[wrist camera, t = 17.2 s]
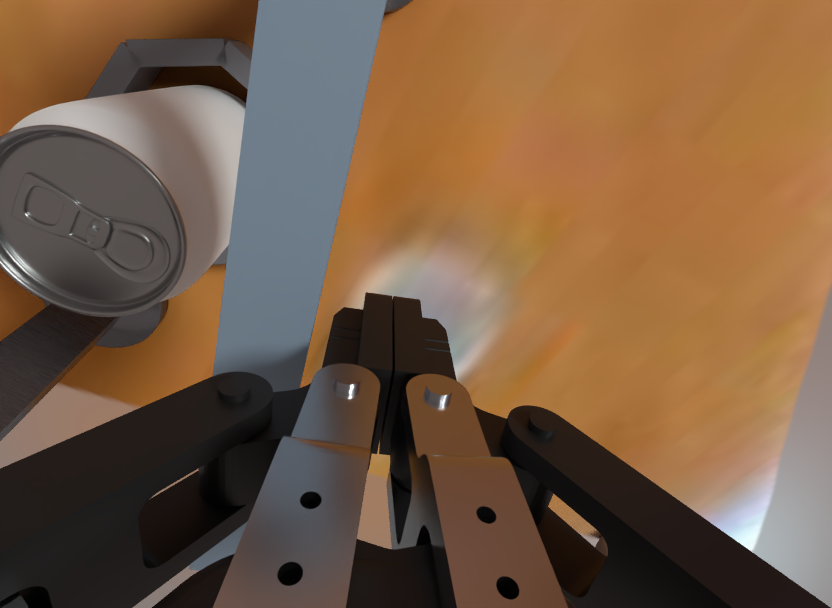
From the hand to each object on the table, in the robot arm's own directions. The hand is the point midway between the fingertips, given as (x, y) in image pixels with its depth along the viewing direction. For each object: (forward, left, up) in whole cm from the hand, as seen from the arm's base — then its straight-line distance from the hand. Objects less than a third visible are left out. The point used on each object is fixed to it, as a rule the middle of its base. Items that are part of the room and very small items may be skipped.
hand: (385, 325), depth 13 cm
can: (+8, +4, -14) cm, 17 cm away
